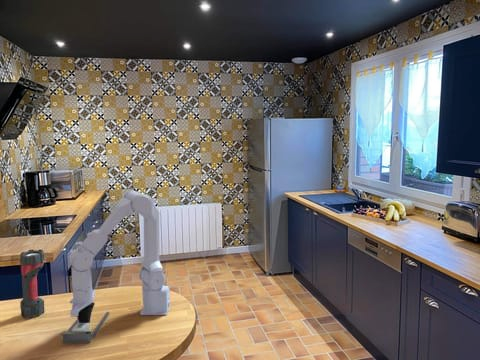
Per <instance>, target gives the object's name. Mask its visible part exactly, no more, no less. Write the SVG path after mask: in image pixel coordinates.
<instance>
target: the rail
mask: <svg viewBox="0 0 480 360" xmlns="http://www.w3.org/2000/svg"><path fill="white" fill-rule="evenodd" d="M109 315H110V311H106V312H105V314H104V315H103V317H102V318H101V319H100V321H99V323H97V325H96V327H95V328H94V329H93V330H90V331H78V332H72V329H73V328H74V326H75V325H76V324H77V323H79V320H78V318H76V319H75V321H74V322H73V324H72V325H71V326H70V327H69V328H68V329H67V330H66V331H63V332H62V333H61V340H62V344H91V342H92V340H94V338H95V337H96V335H97V333H98V332H99V330H100V328H101V327H102V326H103V324H104V323H105V322H106V320H107V318H108V317H109Z"/></svg>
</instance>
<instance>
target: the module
mask: <svg viewBox="0 0 480 360" xmlns="http://www.w3.org/2000/svg"><path fill="white" fill-rule="evenodd" d="M78 331H91V322H90V323H77V324H76V325H75V326H74V328H73V329H72V332H78Z"/></svg>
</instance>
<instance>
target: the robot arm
mask: <svg viewBox="0 0 480 360" xmlns="http://www.w3.org/2000/svg"><path fill="white" fill-rule="evenodd" d="M135 213H138V214H139V215H140V216H141V217H143V261H142V262H141V267H140V270H139V273H138V277H139V280H141V282H142V284H141V285H142V287H141V289H142V291H141V292H142V309H141V310H140V312H139V315H140V316H166V315H167V314H168V312H169V309H170V308H171V293H170V292H171V291H170V286H168V285H165V283H166V276H165V274H164V267H163V266H162V263H161V261H160V211H159V209H158V208H157V206H156V205H155V203H154V199H153V198H151V197H150V196H148V195H147V194H146V193H142V192H138V191H137V190H129V191H127V192H126V193H125V194H124V195H123V197H121V198H120V199H119V201H118V202H117V205H116V206H115V207H114V208H113V210H112V211H111V212H110V213H109V215H108V216H107V218H106V219H105V220H104V222H103V223H102V224H101V226H100V227H98V229H93V230H92V231H91V232H88V233H87V234H86V236H87V237H86V238H85V239H84V240H83V242H82V243H81V244H80V245H77V247H76V249H74V250H72V251H71V253H70V254H69V258H67V262H68V263H69V264H70V265H71V286H72V287H71V288H72V297H73V298H71V299H70V301H69V303H70V304H71V310H70V312H69V313H70V314H69V315H70V317H71V318H76V319H78V320H79V323H90V324H91V316H92V312H93V309H94V307H95V302H94V301H95V300H94V299H95V296H96V290H95V289H93V283H92V280H93V279H92V271H91V267H92V266H93V263H94V258H95V257H96V255H98V253H99V252H100V251H101V250H102V248H103V247H104V246H105V245H106V243H107V242H108V235H109V234H110V233H111V232H112V231H113V230H114V229H115V228H116V227H117V225H118V224H119V223H120V222H121V221H122V220H123V219H124V218H125V217H131V216H134V215H136V214H135Z"/></svg>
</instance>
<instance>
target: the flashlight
mask: <svg viewBox="0 0 480 360" xmlns="http://www.w3.org/2000/svg"><path fill="white" fill-rule="evenodd" d="M19 257H20V259H19V260H20V273H21V287H22V299H21V300H20V303H19V304H20V317H21V318H27V319H31V318H32V317H40V316H41V314H45V300H44V299H43V298H41V297H39V296H38V279H37V276H38V274H39V272H40V270H42V269H43V267H44V264H45V260H46V258H45V252H44V250H43V249H38V250H37V249H36V250H35V249H29V250H28V251H21V252H20V255H19Z"/></svg>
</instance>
